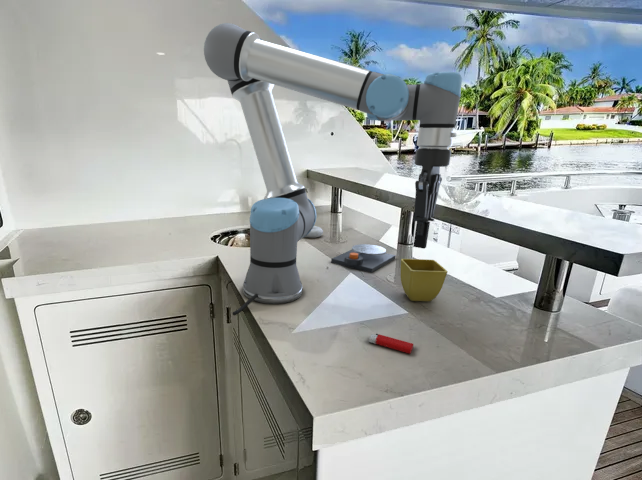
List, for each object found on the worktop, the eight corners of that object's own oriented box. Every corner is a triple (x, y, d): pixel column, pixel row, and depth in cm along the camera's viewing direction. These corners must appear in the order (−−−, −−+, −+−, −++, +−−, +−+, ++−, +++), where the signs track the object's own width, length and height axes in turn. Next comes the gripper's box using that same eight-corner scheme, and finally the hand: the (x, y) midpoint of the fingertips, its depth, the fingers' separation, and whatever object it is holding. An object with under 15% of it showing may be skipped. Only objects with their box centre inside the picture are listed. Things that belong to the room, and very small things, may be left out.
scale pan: (377, 257, 118) (377, 256, 118) (345, 250, 125) (345, 248, 124) (391, 250, 126) (391, 248, 126) (361, 243, 133) (361, 242, 133)
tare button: (355, 260, 116) (355, 255, 116) (347, 258, 118) (348, 253, 117) (359, 258, 118) (359, 253, 117) (351, 256, 120) (352, 252, 119)
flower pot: (442, 305, 93) (448, 271, 90) (406, 304, 93) (411, 270, 90) (428, 291, 101) (434, 259, 98) (395, 290, 101) (400, 258, 98)
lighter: (410, 349, 71) (368, 337, 75) (409, 355, 71) (368, 342, 75) (413, 342, 73) (373, 331, 77) (412, 348, 74) (372, 336, 78)
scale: (369, 274, 113) (370, 264, 112) (328, 263, 121) (329, 254, 120) (395, 259, 127) (396, 250, 126) (357, 250, 135) (358, 242, 134)
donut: (308, 231, 160) (292, 235, 153) (308, 223, 159) (293, 226, 152) (327, 236, 154) (312, 240, 147) (328, 227, 153) (313, 231, 146)
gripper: (443, 149, 80) (427, 256, 87) (458, 148, 90) (442, 244, 97) (407, 148, 84) (395, 250, 92) (425, 147, 94) (413, 239, 102)
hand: (419, 246), depth 95 cm, fingers closed
